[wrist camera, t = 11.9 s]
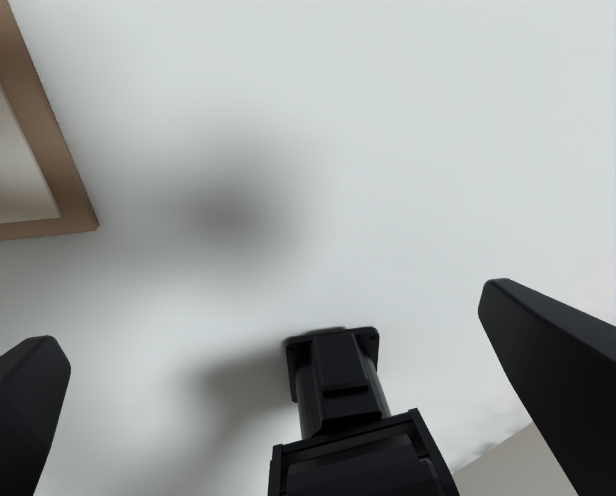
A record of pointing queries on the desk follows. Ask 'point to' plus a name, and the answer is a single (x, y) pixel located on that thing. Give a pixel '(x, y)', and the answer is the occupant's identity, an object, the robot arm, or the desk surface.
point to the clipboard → (33, 151)
